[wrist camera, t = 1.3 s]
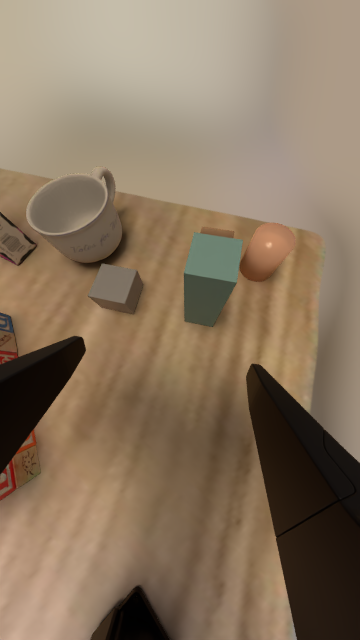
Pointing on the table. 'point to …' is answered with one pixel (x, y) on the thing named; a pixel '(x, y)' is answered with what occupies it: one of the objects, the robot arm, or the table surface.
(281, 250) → the peach rounded cylinder
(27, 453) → the stack of blocks
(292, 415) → the robot arm
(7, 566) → the table surface
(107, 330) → the table surface
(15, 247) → the candy bar box
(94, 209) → the teacup
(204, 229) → the walnut cube
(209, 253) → the teal block
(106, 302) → the gray block
